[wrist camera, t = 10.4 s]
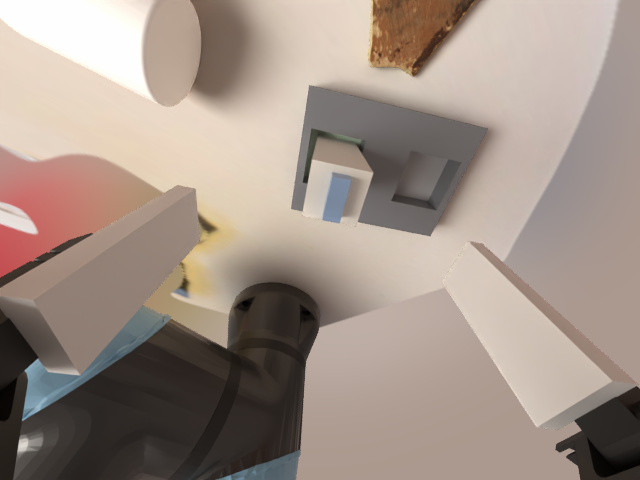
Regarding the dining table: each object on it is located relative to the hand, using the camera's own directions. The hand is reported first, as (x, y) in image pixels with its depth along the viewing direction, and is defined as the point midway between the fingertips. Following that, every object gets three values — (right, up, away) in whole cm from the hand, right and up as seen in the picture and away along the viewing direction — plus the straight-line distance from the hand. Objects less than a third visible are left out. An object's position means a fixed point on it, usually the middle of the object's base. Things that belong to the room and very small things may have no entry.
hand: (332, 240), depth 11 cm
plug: (+1, +9, +14) cm, 17 cm away
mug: (-16, +20, +9) cm, 27 cm away
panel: (+6, +9, +15) cm, 18 cm away
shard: (+8, +21, +8) cm, 24 cm away
